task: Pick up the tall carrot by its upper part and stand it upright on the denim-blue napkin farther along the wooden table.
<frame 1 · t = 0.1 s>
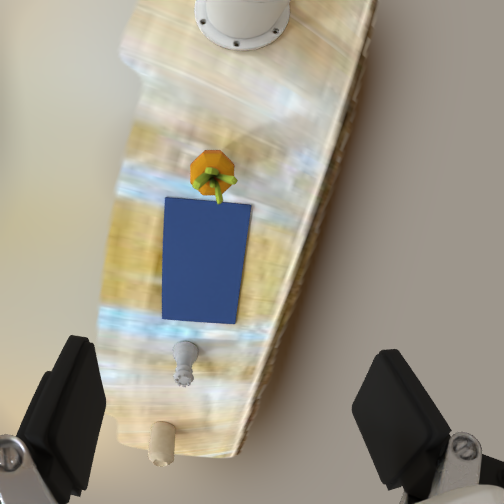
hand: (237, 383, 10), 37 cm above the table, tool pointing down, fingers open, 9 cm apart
napkin: (202, 265, 48), on the table
rook chess piece: (185, 348, 54), on the table
candle: (163, 427, 63), on the table
carrot: (212, 161, 43), on the table
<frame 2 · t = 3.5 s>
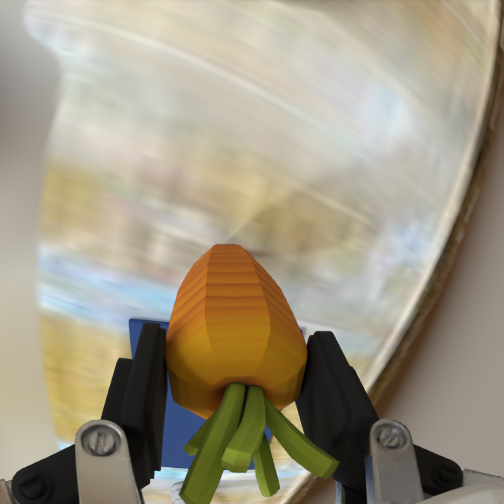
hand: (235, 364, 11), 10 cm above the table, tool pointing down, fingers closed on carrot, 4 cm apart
napkin: (208, 415, 25), on the table
rook chess piece: (187, 486, 32), on the table
carrot: (224, 250, 20), on the table, touching gripper
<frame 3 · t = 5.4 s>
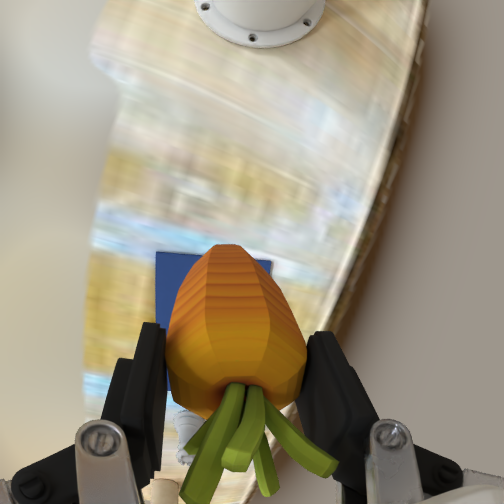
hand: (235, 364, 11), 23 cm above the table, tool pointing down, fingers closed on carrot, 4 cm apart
napkin: (207, 334, 37), on the table
rook chess piece: (188, 417, 43), on the table
candle: (165, 483, 51), on the table
carrot: (224, 250, 20), point 13 cm above the table, touching gripper
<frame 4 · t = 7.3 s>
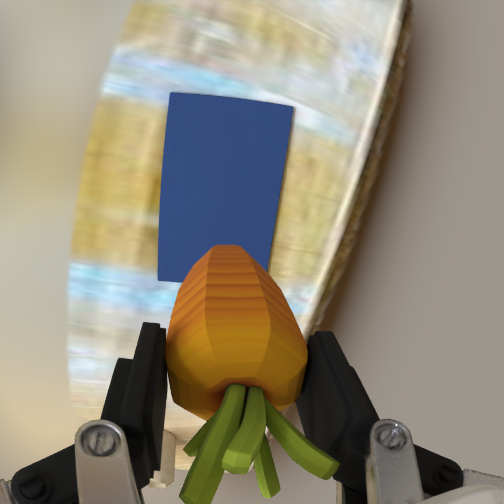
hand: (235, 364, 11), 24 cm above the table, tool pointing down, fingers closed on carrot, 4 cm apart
napkin: (219, 195, 33), on the table
candle: (160, 436, 47), on the table
carrot: (224, 250, 20), point 14 cm above the table, touching gripper
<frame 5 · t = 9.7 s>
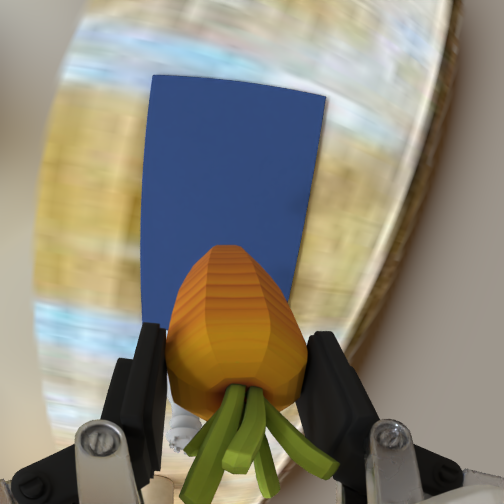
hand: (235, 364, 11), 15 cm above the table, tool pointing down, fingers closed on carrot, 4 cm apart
napkin: (222, 219, 24), on the table
rook chess piece: (187, 379, 30), on the table
candle: (156, 480, 38), on the table
carrot: (224, 250, 20), point 5 cm above the table, touching gripper
when the fingers open (10 cm above the table, at t = 11.4 s): carrot stays where it is, resting on napkin.
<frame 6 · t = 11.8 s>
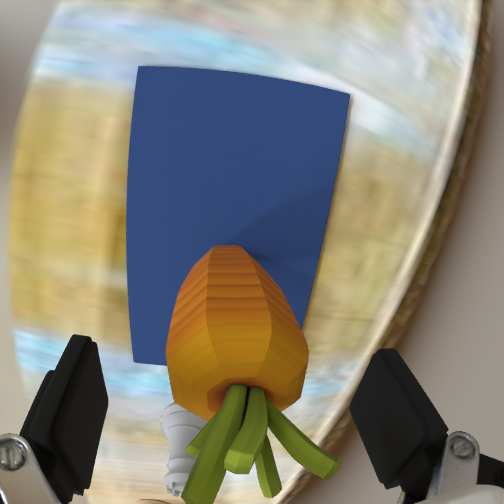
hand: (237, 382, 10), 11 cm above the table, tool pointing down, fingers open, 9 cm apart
napkin: (224, 242, 20), on the table
rook chess piece: (185, 413, 26), on the table
carrot: (224, 250, 20), resting on napkin
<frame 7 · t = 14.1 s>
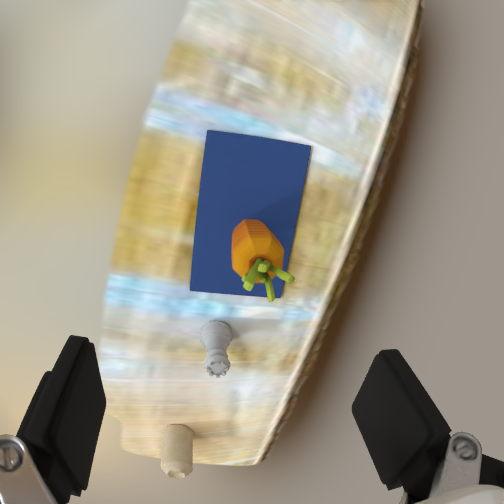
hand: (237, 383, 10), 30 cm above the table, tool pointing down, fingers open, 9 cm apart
napkin: (246, 220, 39), on the table
rook chess piece: (215, 331, 45), on the table
candle: (178, 431, 53), on the table
carrot: (246, 224, 39), resting on napkin
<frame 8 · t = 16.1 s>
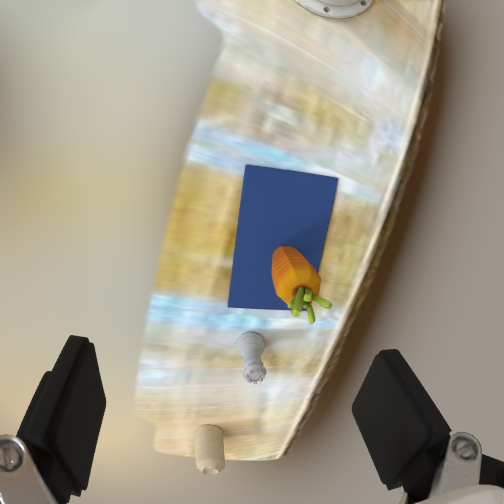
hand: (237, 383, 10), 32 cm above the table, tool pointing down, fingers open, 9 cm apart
napkin: (280, 244, 43), on the table
rook chess piece: (249, 341, 50), on the table
candle: (209, 431, 58), on the table
carrot: (280, 248, 43), resting on napkin
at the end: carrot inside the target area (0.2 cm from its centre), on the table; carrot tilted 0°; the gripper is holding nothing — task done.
